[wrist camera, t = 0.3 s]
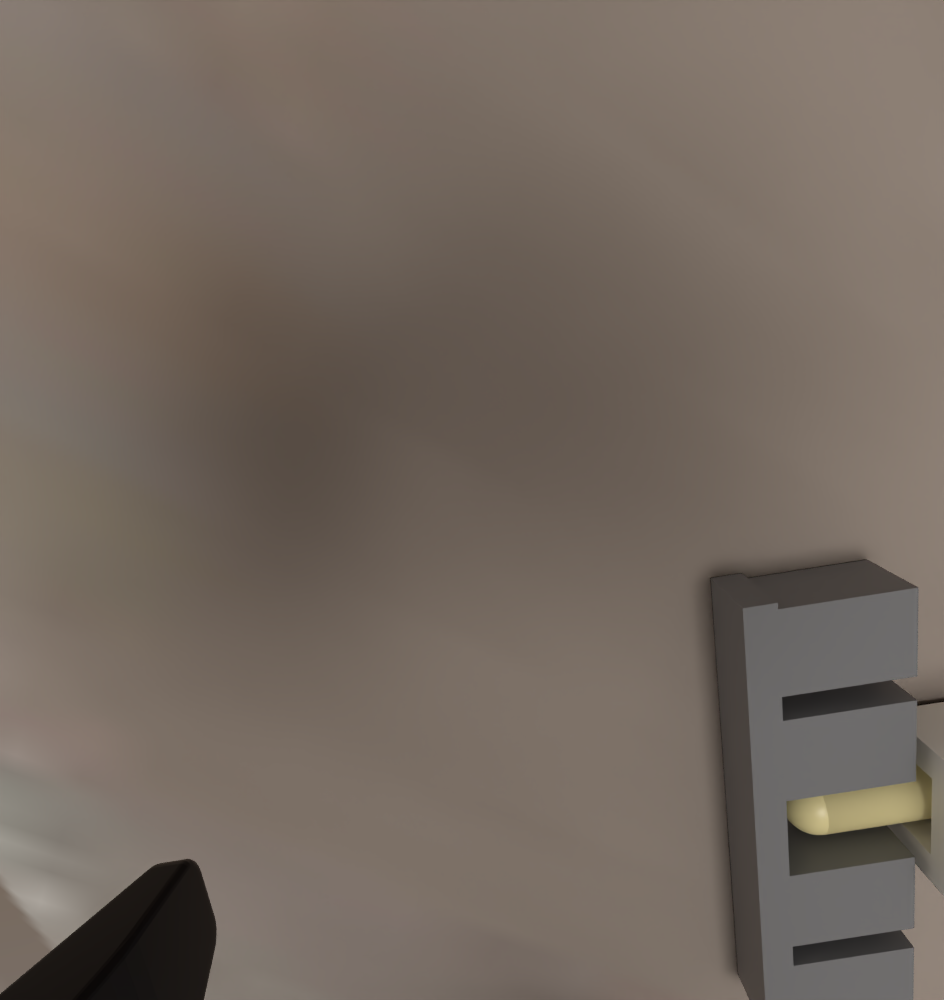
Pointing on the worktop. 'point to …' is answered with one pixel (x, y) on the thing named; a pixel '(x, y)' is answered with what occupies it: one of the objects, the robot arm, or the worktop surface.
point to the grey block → (940, 755)
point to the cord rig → (820, 778)
